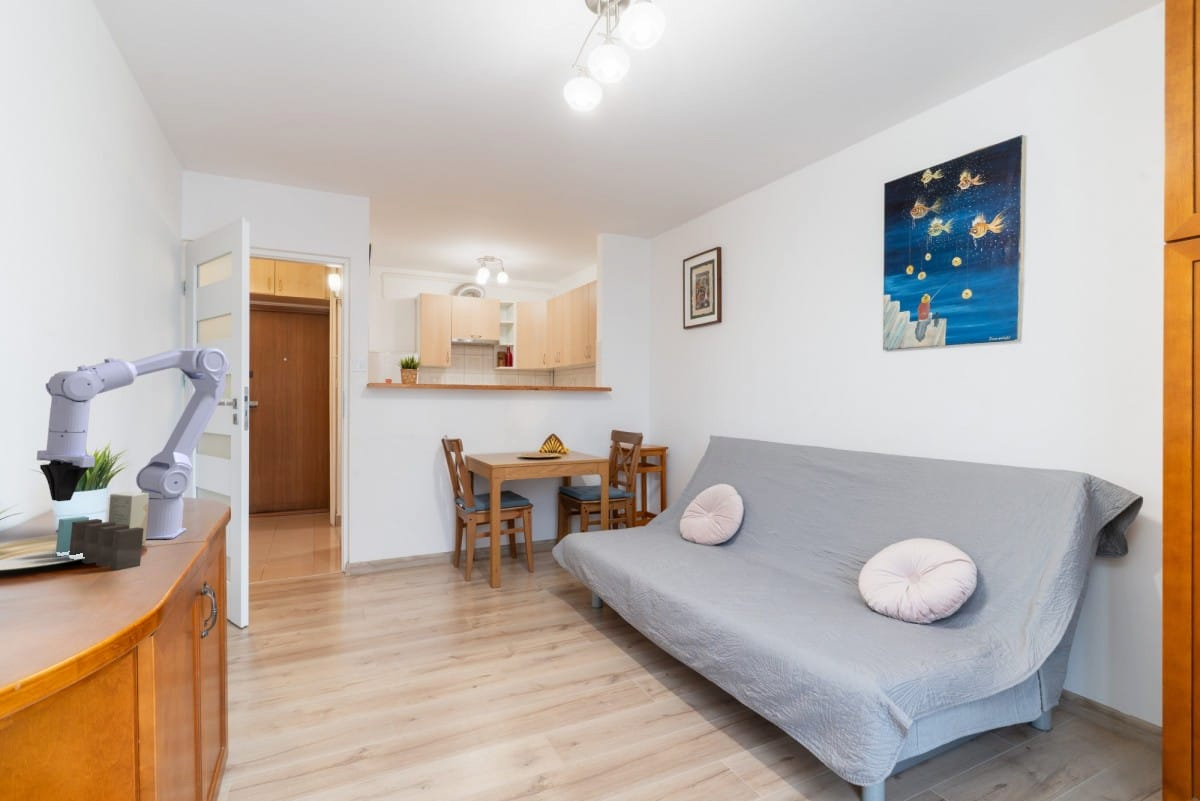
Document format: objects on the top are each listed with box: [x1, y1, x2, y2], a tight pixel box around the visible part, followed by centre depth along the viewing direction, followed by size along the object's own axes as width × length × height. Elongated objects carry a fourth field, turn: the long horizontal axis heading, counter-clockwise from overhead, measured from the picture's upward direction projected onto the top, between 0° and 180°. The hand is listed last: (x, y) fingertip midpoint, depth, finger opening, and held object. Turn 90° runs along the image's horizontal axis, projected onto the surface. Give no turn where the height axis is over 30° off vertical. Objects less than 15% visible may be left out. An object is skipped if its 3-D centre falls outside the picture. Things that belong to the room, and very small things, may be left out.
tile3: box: [81, 521, 116, 564], centre depth 109 cm, size 2×4×7 cm, turn 161°
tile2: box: [69, 518, 103, 555], centre depth 110 cm, size 2×4×7 cm, turn 160°
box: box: [107, 491, 149, 547], centre depth 119 cm, size 5×4×11 cm
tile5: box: [109, 527, 144, 572], centre depth 106 cm, size 2×4×7 cm, turn 160°
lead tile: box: [55, 515, 90, 553], centre depth 111 cm, size 2×4×7 cm, turn 160°
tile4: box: [95, 524, 129, 568], centre depth 107 cm, size 2×4×7 cm, turn 161°
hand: (61, 500), depth 113 cm, fingers closed
